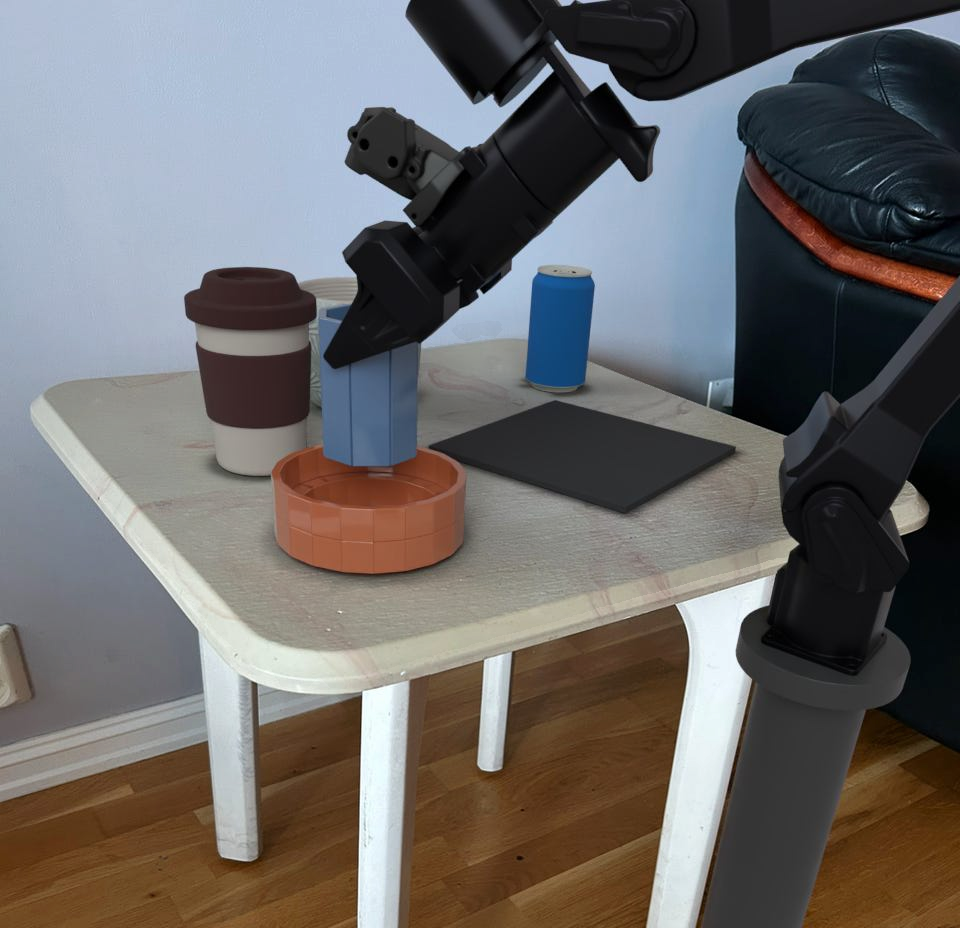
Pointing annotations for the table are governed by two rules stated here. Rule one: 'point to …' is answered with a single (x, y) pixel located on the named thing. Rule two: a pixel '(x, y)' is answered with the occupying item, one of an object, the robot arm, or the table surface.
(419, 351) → the planter
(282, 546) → the bowl
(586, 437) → the mat
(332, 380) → the blue cup
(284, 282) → the coffee cup
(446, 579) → the table surface
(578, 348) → the beverage can
